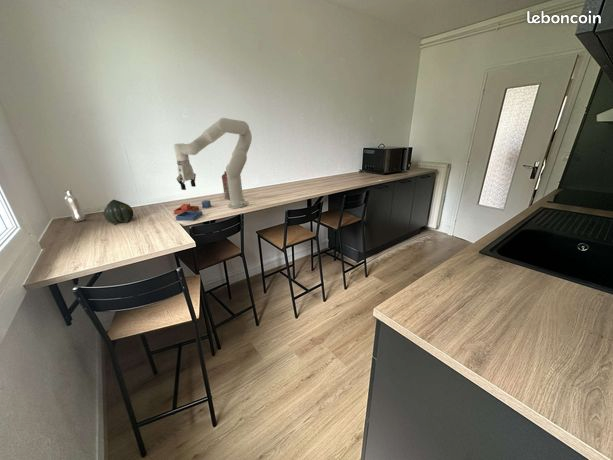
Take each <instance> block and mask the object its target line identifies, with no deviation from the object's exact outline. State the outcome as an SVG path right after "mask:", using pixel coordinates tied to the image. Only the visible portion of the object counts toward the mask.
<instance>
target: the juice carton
mask: <svg viewBox="0 0 613 460" xmlns="http://www.w3.org/2000/svg"><path fill="white" fill-rule="evenodd" d="M221 181H222V190H223V195H224V199H226V200H229V201H230V195H229V188H228V180H227V174H226V170H225V171H224V173H223V174H222V175H221Z"/></svg>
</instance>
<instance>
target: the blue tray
mask: <svg viewBox="0 0 613 460" xmlns="http://www.w3.org/2000/svg"><path fill="white" fill-rule="evenodd" d="M203 215H204V214H203V211H200V210H197V211H184V212H183V213H181V214H176V215H175V220H176V221H189V222H190V221H193V222H194V221H196V220H197V219H199V218H201V217H202V216H203Z"/></svg>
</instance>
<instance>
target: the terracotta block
mask: <svg viewBox="0 0 613 460" xmlns="http://www.w3.org/2000/svg"><path fill="white" fill-rule="evenodd" d="M191 206H192V205H191V204H190V203H183V204H181V205H180V207H181V210H184V211H190V210H191Z"/></svg>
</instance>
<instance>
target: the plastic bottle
mask: <svg viewBox="0 0 613 460" xmlns="http://www.w3.org/2000/svg"><path fill="white" fill-rule="evenodd" d="M64 195H65V196H64V199H63V200H64V202H65V204H66V205H67V207H68V209H69V212H70V215H71V216H70V217H71V220H72V221H73V222H75V223H76V222H83V221H85V220H86V215H85V213H84V211H83V209H82V207H81V205H80V199H79V197H78V196H77V195H76V194H74V191H73V190H72V189H69V190H68V189H67V190H64Z"/></svg>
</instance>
